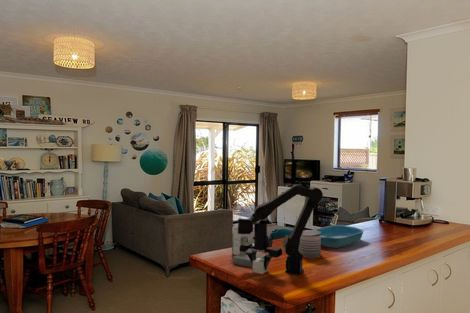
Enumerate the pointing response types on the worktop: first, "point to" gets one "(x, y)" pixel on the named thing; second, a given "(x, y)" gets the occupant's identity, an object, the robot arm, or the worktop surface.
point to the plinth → (245, 259)
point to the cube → (259, 266)
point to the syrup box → (237, 240)
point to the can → (310, 244)
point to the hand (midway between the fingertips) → (260, 269)
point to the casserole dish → (339, 235)
